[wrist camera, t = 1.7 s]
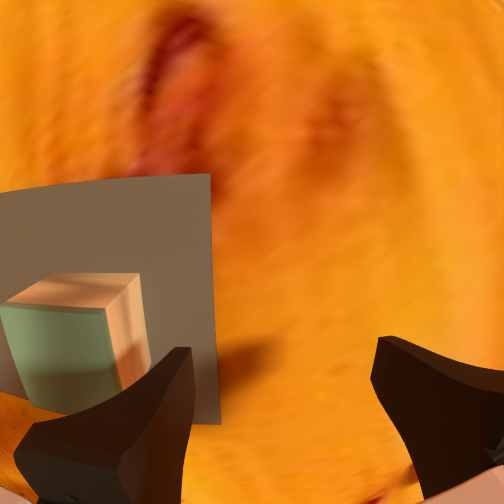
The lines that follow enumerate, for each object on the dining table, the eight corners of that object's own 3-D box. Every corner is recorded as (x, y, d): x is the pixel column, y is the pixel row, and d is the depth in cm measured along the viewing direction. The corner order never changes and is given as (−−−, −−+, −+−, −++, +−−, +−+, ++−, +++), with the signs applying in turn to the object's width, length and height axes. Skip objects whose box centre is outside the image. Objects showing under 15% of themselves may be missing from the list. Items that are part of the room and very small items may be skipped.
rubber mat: (-31, 375, 16) (-35, 378, 15) (-70, 208, 13) (-75, 209, 12) (221, 418, 17) (220, 424, 16) (210, 173, 14) (209, 173, 13)
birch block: (72, 355, 15) (31, 406, 10) (54, 272, 14) (-3, 306, 9) (151, 363, 15) (126, 424, 10) (139, 273, 14) (99, 315, 9)
